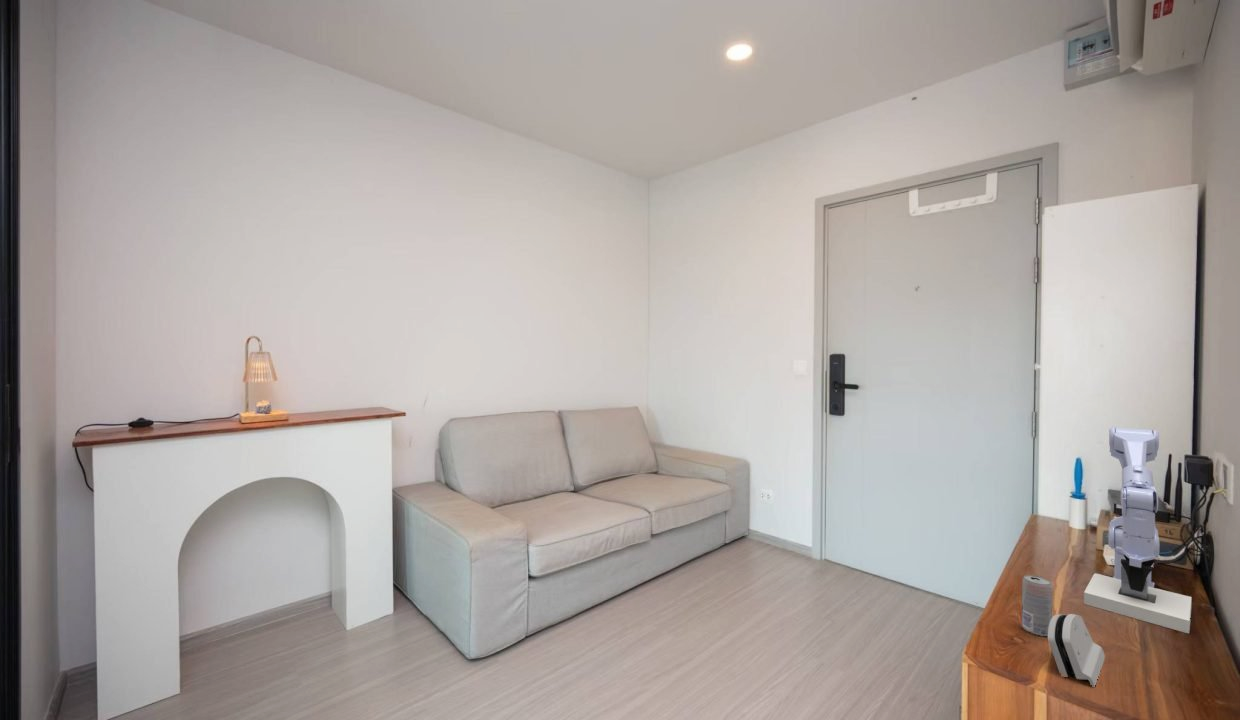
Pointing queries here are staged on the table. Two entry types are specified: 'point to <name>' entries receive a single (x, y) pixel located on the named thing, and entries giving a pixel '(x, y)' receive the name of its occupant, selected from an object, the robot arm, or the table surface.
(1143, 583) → the robot arm
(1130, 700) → the table surface
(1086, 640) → the grey black angular block
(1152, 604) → the hole board
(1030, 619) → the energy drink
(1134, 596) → the square peg
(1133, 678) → the table surface
